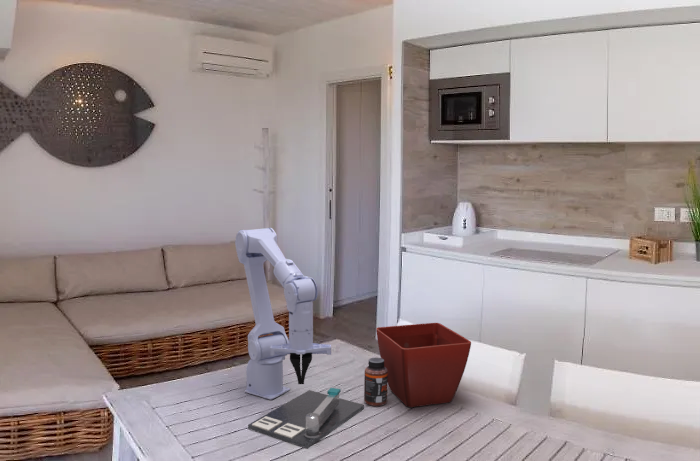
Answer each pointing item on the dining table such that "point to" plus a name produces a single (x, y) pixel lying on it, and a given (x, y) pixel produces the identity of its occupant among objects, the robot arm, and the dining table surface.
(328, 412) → the bar
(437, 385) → the plant pot
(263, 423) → the label
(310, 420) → the grey rounded cylinder
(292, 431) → the label
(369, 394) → the supplement bottle
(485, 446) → the dining table surface
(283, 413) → the tray
